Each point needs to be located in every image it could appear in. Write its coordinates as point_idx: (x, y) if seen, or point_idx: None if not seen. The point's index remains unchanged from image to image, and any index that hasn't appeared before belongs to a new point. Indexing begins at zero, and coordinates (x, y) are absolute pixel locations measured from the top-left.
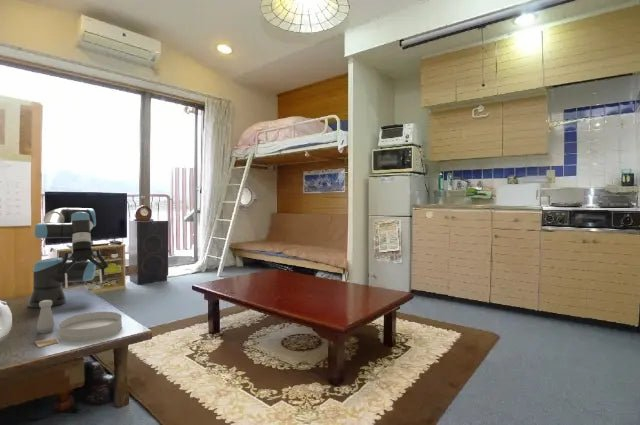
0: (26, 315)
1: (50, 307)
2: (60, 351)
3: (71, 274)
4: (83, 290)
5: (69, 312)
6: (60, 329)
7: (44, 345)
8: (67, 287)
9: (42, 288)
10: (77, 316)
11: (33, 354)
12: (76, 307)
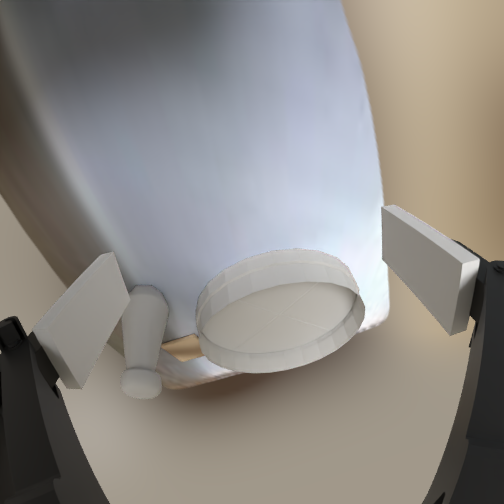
0: None
1: (155, 368)
2: (229, 370)
3: None
4: None
5: (140, 78)
6: (209, 352)
7: (191, 358)
8: (122, 277)
9: None
10: (233, 297)
11: (187, 373)
12: None
